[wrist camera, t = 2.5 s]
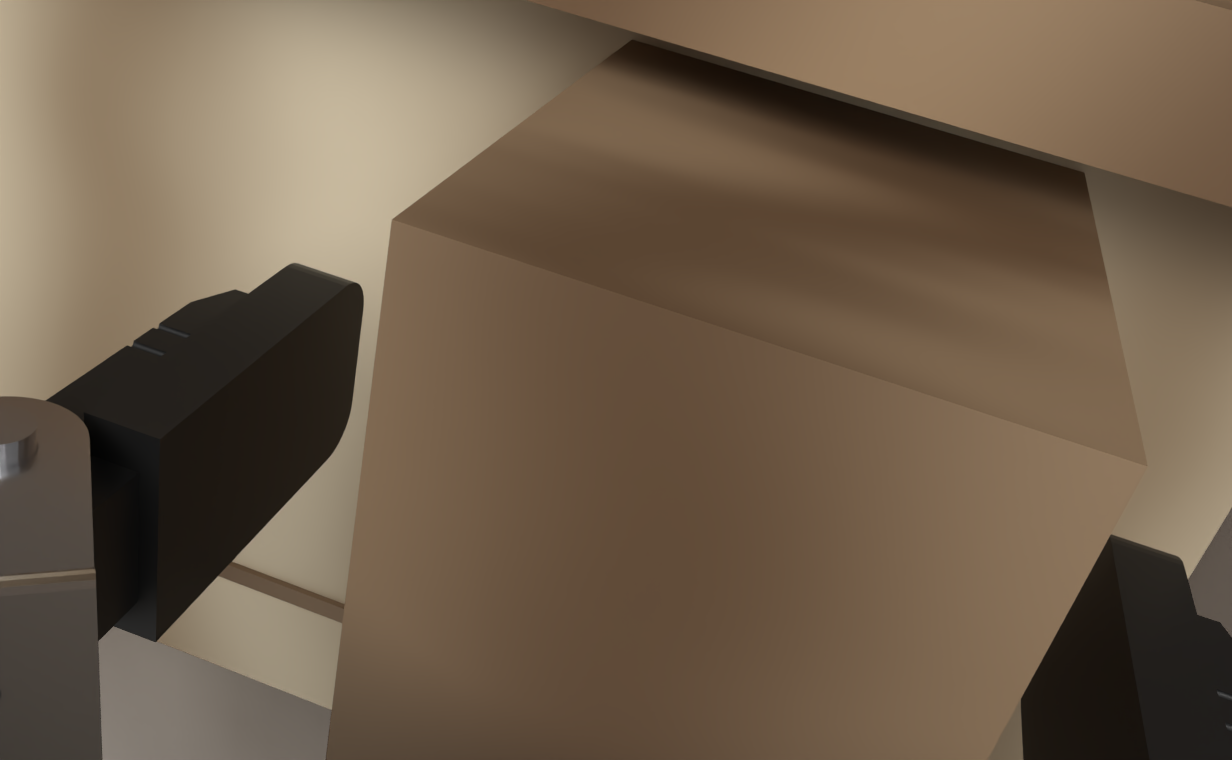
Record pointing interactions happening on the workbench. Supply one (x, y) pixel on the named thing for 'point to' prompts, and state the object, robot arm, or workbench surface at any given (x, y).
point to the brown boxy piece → (728, 435)
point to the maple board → (491, 107)
